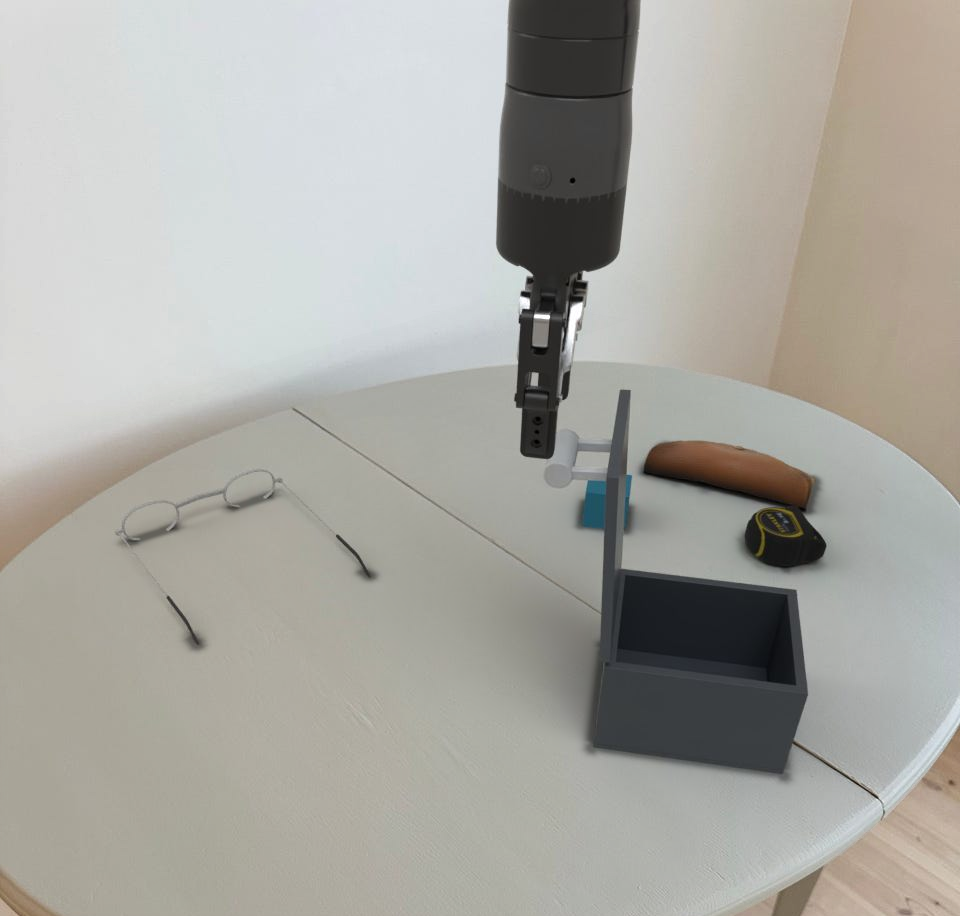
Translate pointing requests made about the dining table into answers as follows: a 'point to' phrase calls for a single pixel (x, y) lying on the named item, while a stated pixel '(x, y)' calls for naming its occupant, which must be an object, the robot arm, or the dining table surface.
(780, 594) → the open box
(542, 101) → the robot arm
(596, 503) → the blue block
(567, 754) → the dining table surface
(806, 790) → the dining table surface
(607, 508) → the lid
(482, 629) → the dining table surface
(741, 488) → the sunglasses case
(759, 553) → the tape measure
